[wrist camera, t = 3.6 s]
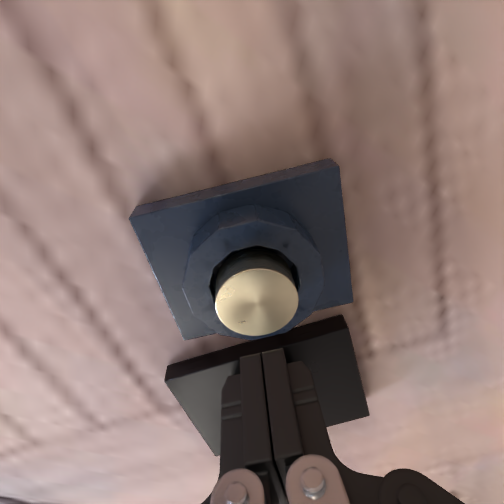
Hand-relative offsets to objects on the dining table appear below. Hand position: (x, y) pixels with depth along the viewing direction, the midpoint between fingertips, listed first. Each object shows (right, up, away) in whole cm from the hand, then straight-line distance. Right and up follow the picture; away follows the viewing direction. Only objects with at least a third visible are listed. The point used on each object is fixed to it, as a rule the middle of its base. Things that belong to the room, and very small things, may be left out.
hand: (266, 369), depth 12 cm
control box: (-1, +4, +7) cm, 8 cm away
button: (0, +3, +4) cm, 5 cm away
